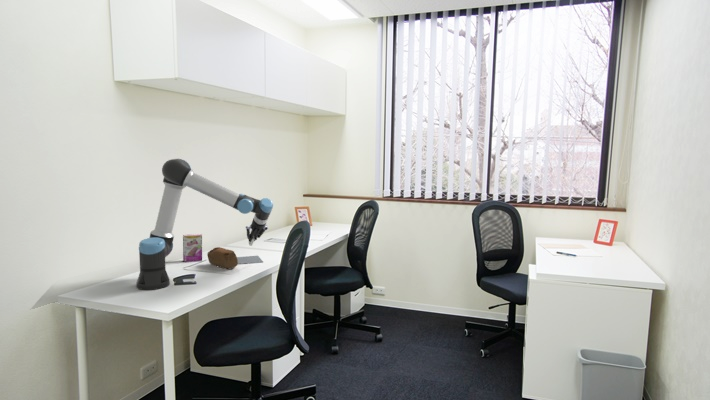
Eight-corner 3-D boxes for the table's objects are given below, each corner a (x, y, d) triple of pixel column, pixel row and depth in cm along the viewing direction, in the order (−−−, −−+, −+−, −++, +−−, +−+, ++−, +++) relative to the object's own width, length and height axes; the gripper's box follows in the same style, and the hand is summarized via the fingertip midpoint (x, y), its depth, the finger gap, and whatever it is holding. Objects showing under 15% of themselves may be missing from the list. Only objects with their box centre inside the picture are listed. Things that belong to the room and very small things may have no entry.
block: (229, 271, 249) (208, 265, 261) (240, 265, 255) (218, 260, 267) (225, 254, 246) (204, 249, 258) (236, 249, 252) (214, 244, 263)
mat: (230, 265, 261) (230, 264, 261) (226, 258, 278) (226, 257, 278) (263, 262, 269) (263, 261, 269) (257, 256, 286) (257, 255, 286)
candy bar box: (183, 262, 266) (182, 235, 265) (183, 260, 271) (182, 234, 269) (202, 260, 271) (202, 234, 269) (202, 259, 275) (201, 233, 274)
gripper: (250, 226, 239) (241, 250, 255) (272, 224, 247) (262, 247, 262) (247, 215, 243) (238, 239, 259) (269, 214, 250) (259, 237, 266)
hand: (250, 243), depth 261 cm, fingers closed
